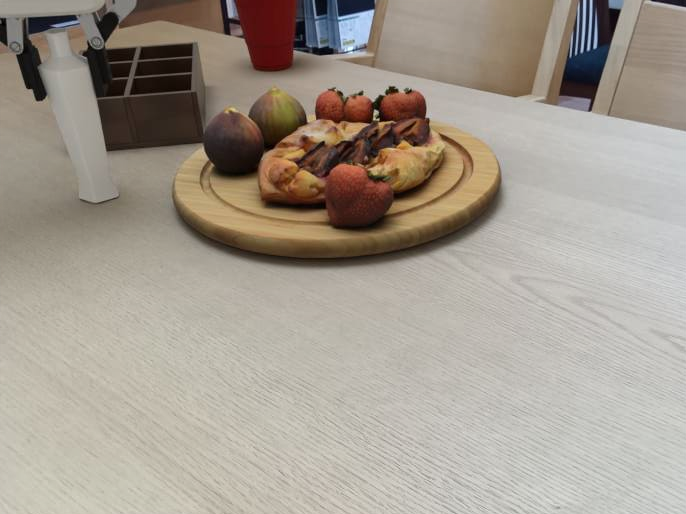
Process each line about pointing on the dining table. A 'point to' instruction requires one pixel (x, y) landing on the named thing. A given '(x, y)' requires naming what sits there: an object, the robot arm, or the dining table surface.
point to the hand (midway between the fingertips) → (72, 92)
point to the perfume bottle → (77, 116)
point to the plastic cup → (268, 31)
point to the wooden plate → (334, 176)
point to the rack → (153, 96)
